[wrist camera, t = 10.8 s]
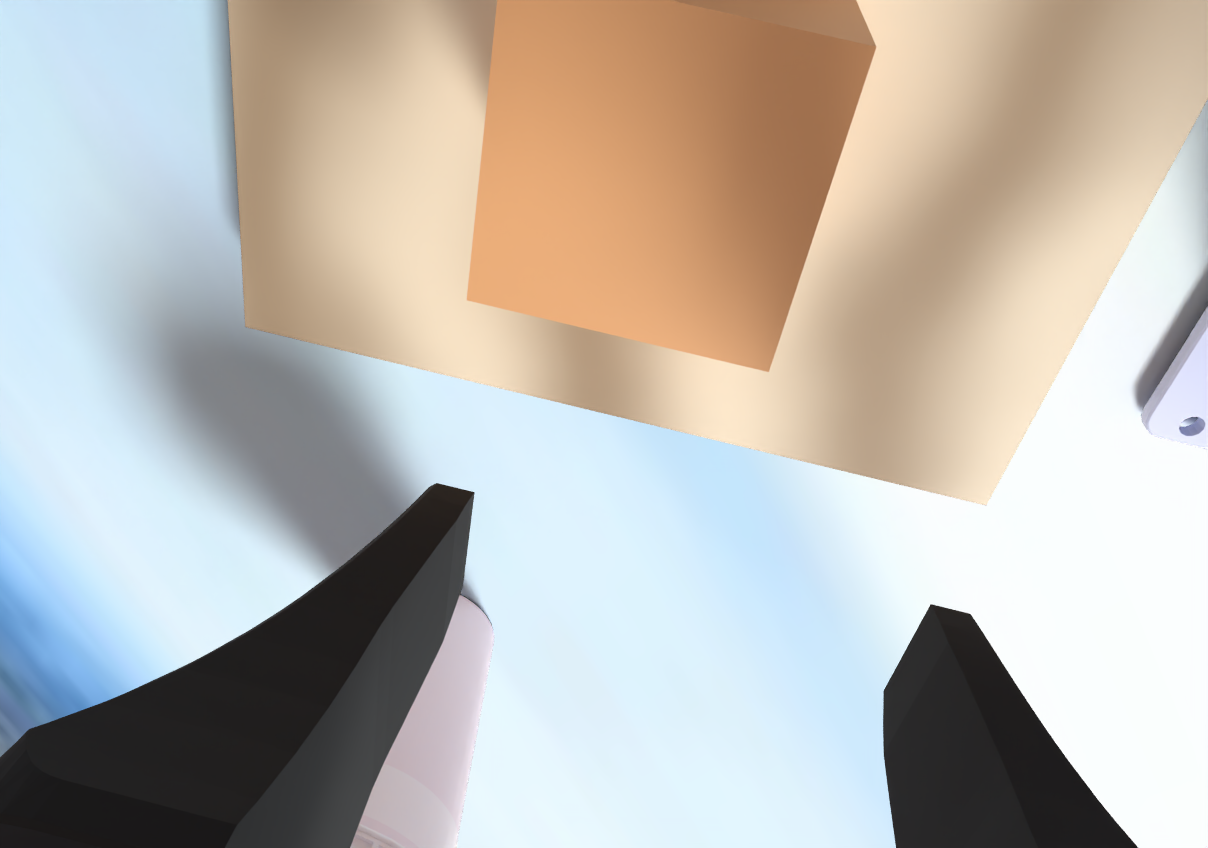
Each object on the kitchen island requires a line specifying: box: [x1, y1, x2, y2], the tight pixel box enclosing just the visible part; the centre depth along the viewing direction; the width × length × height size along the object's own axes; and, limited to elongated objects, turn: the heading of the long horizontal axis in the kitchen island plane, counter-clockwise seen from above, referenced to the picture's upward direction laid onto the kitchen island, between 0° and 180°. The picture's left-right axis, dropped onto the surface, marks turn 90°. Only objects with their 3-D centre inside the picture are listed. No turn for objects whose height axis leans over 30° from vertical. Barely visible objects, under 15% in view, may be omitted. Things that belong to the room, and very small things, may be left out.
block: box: [467, 0, 876, 372], centre depth 15 cm, size 5×5×5 cm
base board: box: [228, 0, 1208, 505], centre depth 18 cm, size 18×14×2 cm
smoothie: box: [350, 595, 494, 848], centre depth 24 cm, size 6×6×14 cm
